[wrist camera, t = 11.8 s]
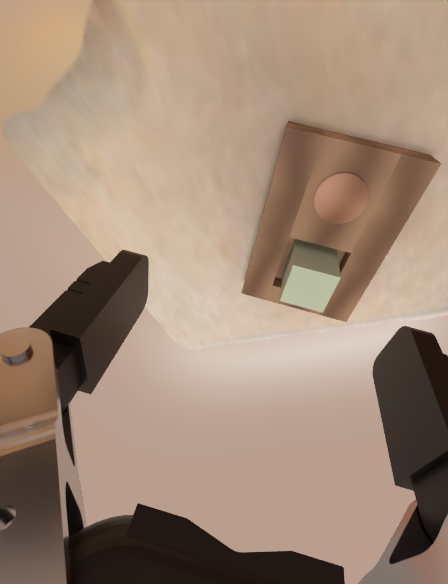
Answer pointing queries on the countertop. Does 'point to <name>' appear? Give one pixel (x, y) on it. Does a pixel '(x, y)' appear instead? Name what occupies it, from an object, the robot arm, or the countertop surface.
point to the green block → (310, 275)
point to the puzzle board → (347, 237)
